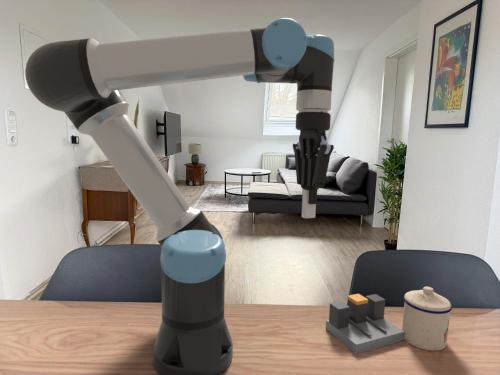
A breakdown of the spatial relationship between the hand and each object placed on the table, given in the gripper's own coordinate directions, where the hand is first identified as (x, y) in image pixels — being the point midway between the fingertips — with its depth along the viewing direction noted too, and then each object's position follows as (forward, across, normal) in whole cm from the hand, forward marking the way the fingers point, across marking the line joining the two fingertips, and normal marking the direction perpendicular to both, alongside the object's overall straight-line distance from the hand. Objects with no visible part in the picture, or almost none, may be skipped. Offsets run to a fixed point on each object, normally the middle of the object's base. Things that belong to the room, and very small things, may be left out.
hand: (308, 217), depth 79 cm
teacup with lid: (+25, -16, -20) cm, 36 cm away
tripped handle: (+22, -8, -8) cm, 25 cm away
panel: (+24, -11, -8) cm, 28 cm away
